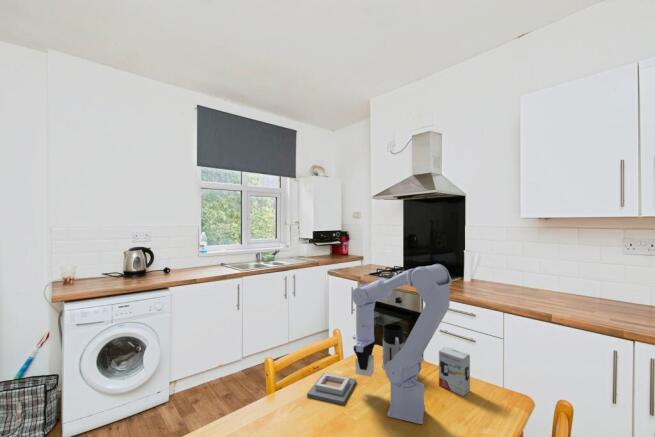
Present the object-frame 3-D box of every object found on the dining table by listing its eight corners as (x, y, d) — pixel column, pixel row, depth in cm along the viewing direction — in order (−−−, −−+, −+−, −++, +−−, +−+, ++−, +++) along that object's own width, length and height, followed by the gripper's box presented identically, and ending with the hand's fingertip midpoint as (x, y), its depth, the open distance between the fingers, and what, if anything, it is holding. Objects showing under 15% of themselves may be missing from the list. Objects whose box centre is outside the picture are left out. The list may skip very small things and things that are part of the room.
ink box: (438, 385, 100) (437, 350, 100) (445, 380, 103) (444, 346, 104) (463, 396, 94) (463, 358, 94) (470, 390, 97) (470, 354, 97)
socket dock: (356, 382, 102) (356, 374, 102) (343, 405, 89) (343, 396, 89) (323, 375, 107) (323, 368, 107) (307, 396, 93) (307, 388, 94)
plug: (373, 371, 98) (373, 352, 98) (371, 376, 94) (371, 357, 95) (358, 368, 100) (358, 350, 100) (355, 373, 96) (355, 355, 96)
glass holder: (402, 362, 117) (402, 323, 118) (411, 380, 103) (411, 337, 103) (380, 361, 118) (380, 323, 118) (385, 380, 103) (385, 336, 104)
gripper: (358, 316, 106) (358, 355, 105) (346, 329, 92) (346, 374, 92) (378, 318, 103) (378, 358, 103) (369, 332, 90) (369, 378, 89)
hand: (365, 366), depth 97 cm, fingers closed on plug, 4 cm apart
